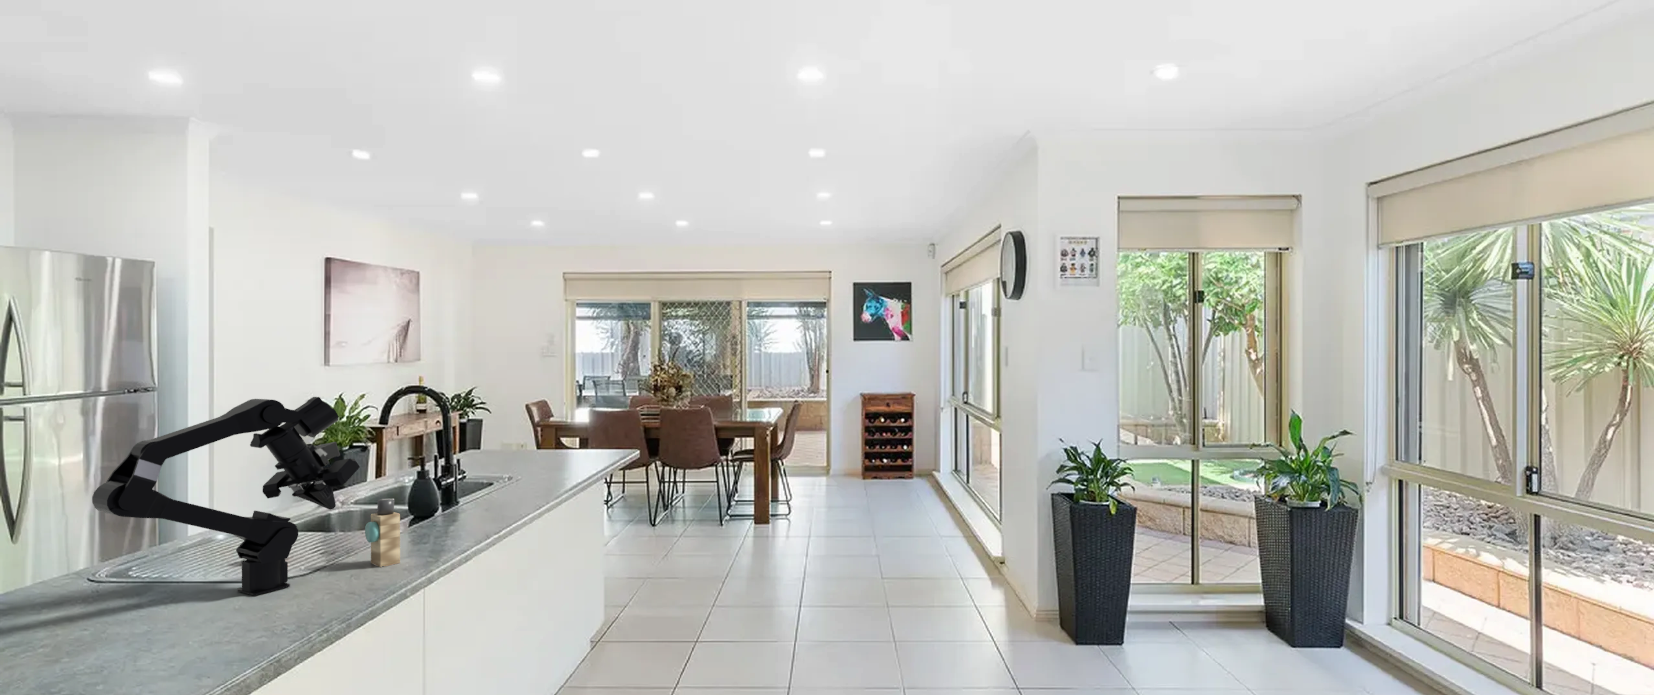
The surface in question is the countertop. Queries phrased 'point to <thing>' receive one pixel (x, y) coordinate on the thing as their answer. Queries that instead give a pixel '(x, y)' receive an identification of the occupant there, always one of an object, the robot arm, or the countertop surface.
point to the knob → (372, 532)
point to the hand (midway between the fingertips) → (333, 508)
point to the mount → (386, 540)
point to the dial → (385, 506)
